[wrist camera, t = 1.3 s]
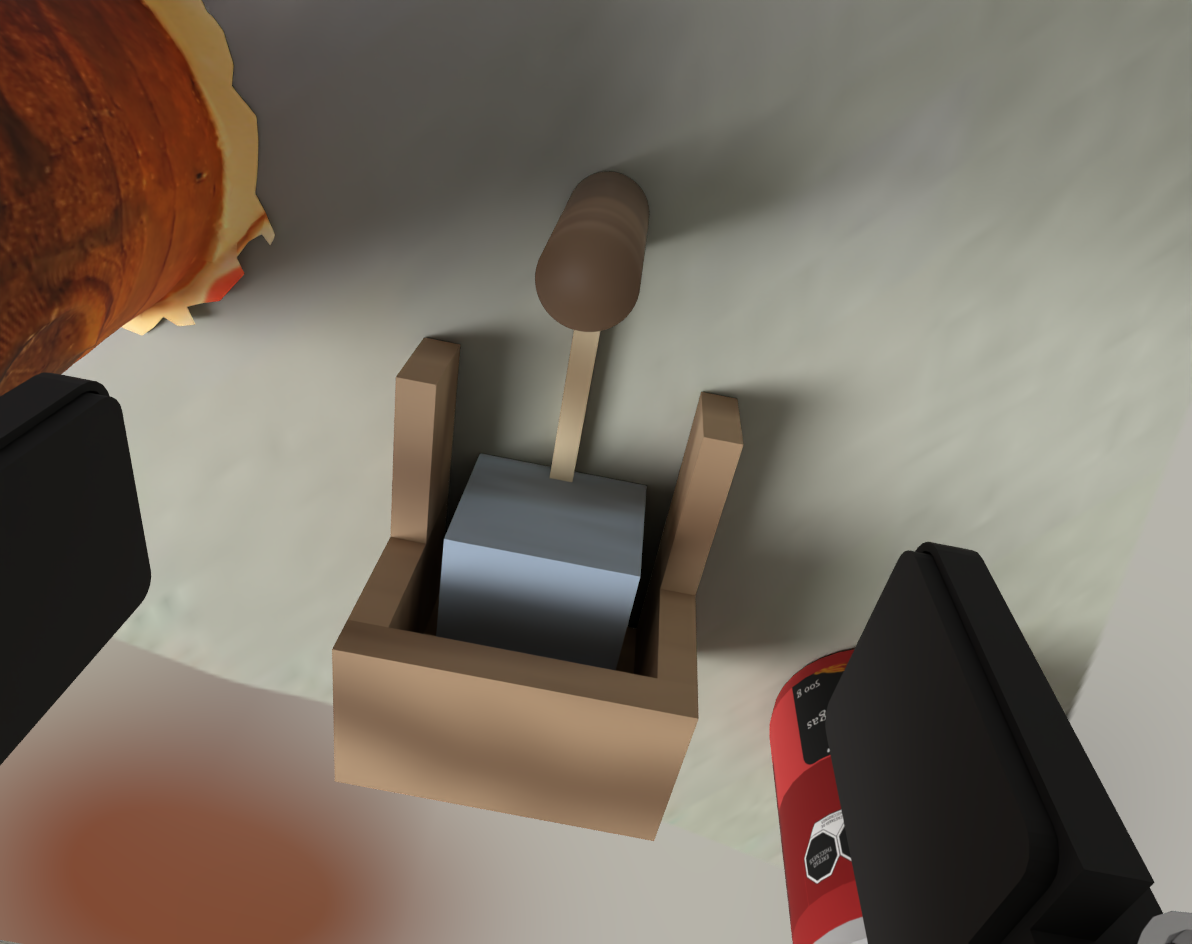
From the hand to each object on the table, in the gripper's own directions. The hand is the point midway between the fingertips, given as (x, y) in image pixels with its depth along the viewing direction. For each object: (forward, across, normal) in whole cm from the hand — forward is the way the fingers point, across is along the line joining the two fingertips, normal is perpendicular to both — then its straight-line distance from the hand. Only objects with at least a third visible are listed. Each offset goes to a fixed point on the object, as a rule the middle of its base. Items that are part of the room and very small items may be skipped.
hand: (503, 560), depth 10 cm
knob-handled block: (+16, 0, +7) cm, 17 cm away
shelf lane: (+16, 0, +11) cm, 19 cm away
